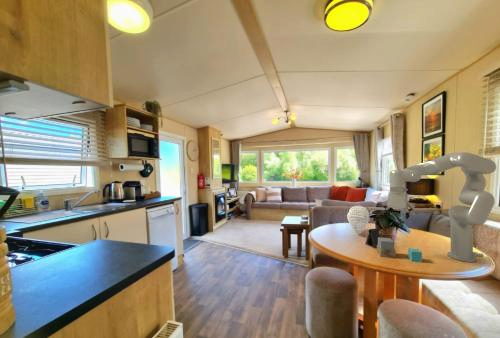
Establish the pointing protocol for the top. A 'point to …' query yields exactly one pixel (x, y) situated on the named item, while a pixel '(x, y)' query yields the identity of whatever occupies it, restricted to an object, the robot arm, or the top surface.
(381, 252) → the grey square block
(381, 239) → the grey squat block
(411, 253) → the teal block
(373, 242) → the door stopper
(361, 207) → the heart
